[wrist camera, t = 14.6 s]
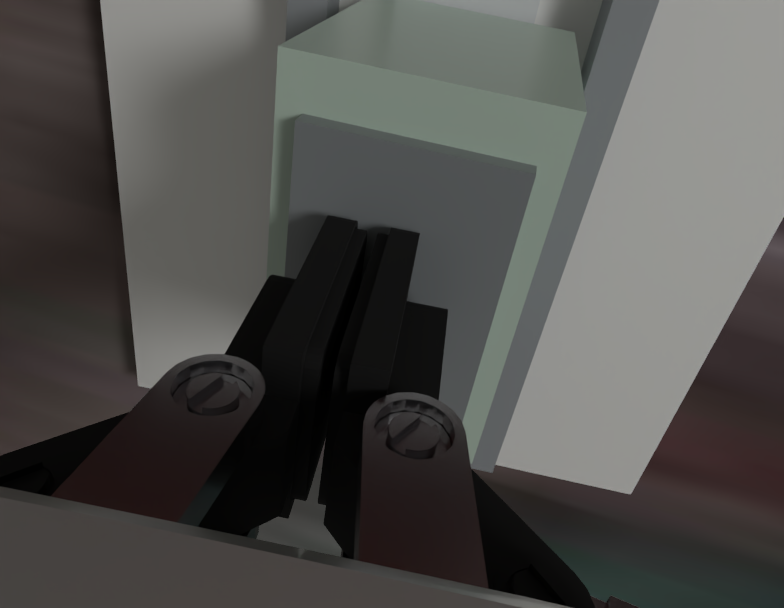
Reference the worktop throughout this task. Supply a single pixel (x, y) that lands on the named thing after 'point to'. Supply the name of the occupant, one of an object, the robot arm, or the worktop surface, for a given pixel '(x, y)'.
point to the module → (431, 162)
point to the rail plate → (566, 232)
